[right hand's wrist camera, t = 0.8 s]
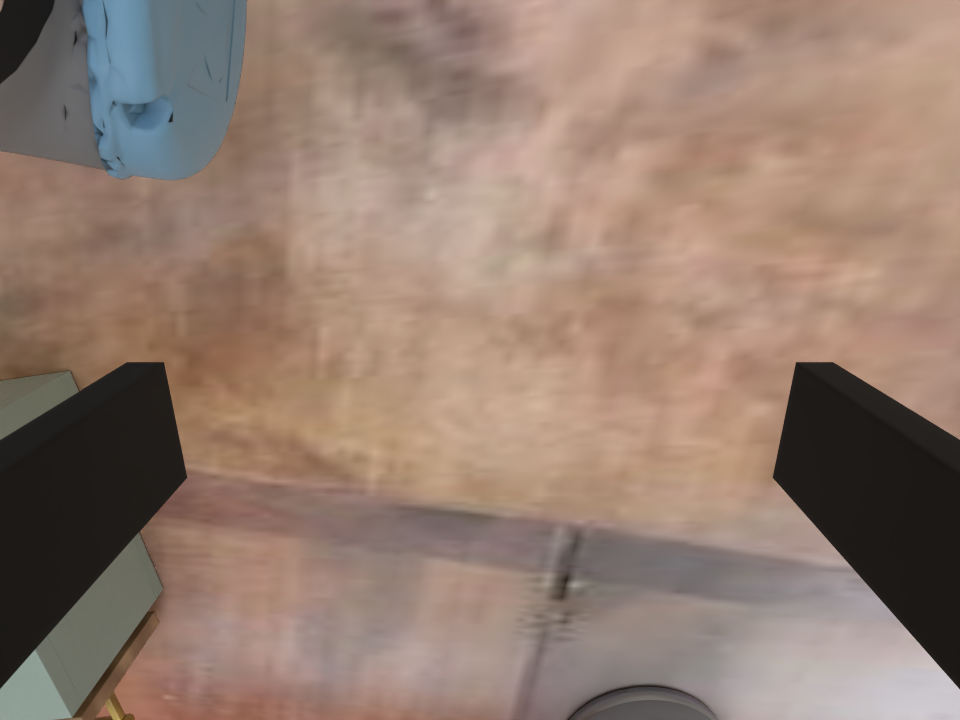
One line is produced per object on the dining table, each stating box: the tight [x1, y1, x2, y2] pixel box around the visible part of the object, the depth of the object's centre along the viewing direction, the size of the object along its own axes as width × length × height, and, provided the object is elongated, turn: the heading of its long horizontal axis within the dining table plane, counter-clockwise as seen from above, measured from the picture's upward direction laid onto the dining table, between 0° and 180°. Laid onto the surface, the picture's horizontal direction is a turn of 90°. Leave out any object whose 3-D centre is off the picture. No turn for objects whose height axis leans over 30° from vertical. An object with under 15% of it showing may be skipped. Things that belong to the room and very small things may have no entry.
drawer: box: [56, 611, 159, 720], centre depth 42 cm, size 24×10×9 cm, turn 8°
